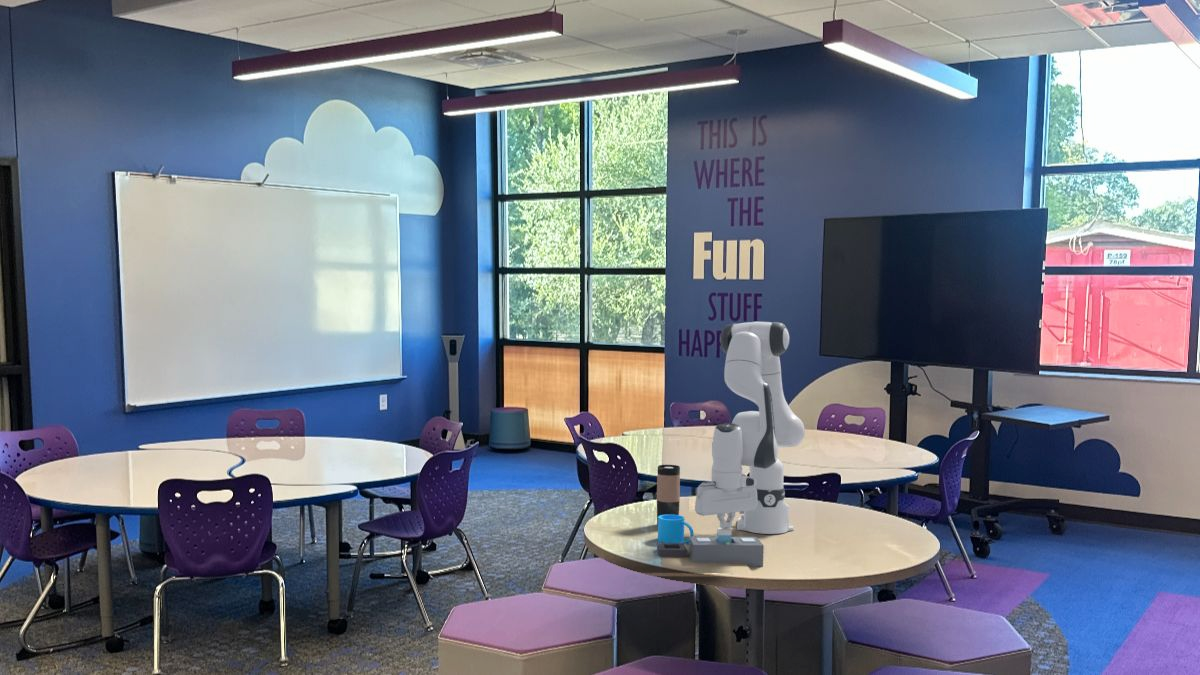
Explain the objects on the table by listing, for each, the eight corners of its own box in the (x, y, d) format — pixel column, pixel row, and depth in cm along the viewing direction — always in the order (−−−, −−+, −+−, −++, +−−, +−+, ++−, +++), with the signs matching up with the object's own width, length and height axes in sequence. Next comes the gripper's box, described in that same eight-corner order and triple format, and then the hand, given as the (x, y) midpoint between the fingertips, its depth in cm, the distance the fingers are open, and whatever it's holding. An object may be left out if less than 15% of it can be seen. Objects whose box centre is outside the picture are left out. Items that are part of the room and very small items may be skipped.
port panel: (688, 556, 284) (689, 535, 284) (756, 557, 285) (756, 535, 285) (693, 565, 274) (693, 543, 274) (763, 566, 275) (763, 543, 275)
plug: (716, 554, 281) (717, 527, 281) (728, 554, 281) (729, 527, 281) (718, 558, 278) (719, 530, 277) (731, 558, 278) (731, 530, 278)
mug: (652, 543, 299) (653, 517, 299) (666, 538, 306) (666, 513, 306) (686, 549, 293) (687, 523, 292) (699, 544, 299) (700, 518, 299)
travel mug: (680, 523, 327) (681, 465, 327) (678, 528, 320) (679, 468, 319) (657, 522, 329) (658, 464, 328) (655, 527, 321) (656, 467, 321)
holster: (656, 553, 288) (657, 543, 288) (683, 553, 288) (683, 543, 288) (659, 560, 280) (659, 549, 280) (687, 560, 280) (687, 550, 280)
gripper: (704, 484, 271) (703, 533, 272) (761, 479, 281) (760, 526, 282) (690, 481, 277) (690, 529, 277) (747, 475, 287) (746, 522, 287)
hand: (725, 527), depth 279 cm, fingers closed
